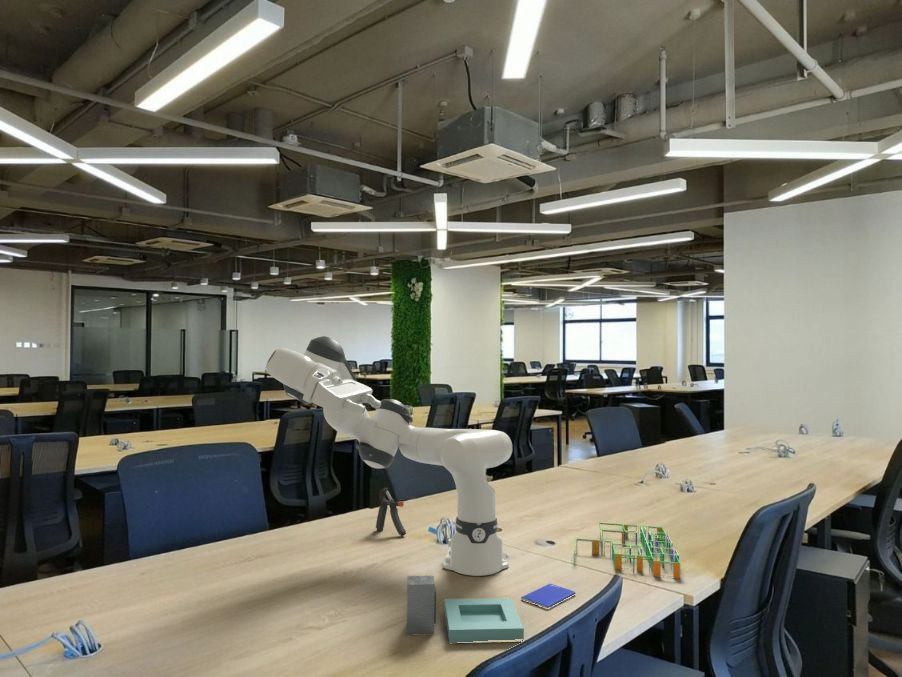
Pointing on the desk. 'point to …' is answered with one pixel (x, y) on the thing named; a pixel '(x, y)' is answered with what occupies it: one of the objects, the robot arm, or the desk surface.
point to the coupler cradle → (482, 620)
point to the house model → (653, 564)
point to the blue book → (548, 595)
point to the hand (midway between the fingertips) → (371, 408)
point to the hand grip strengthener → (393, 512)
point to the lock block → (421, 605)
